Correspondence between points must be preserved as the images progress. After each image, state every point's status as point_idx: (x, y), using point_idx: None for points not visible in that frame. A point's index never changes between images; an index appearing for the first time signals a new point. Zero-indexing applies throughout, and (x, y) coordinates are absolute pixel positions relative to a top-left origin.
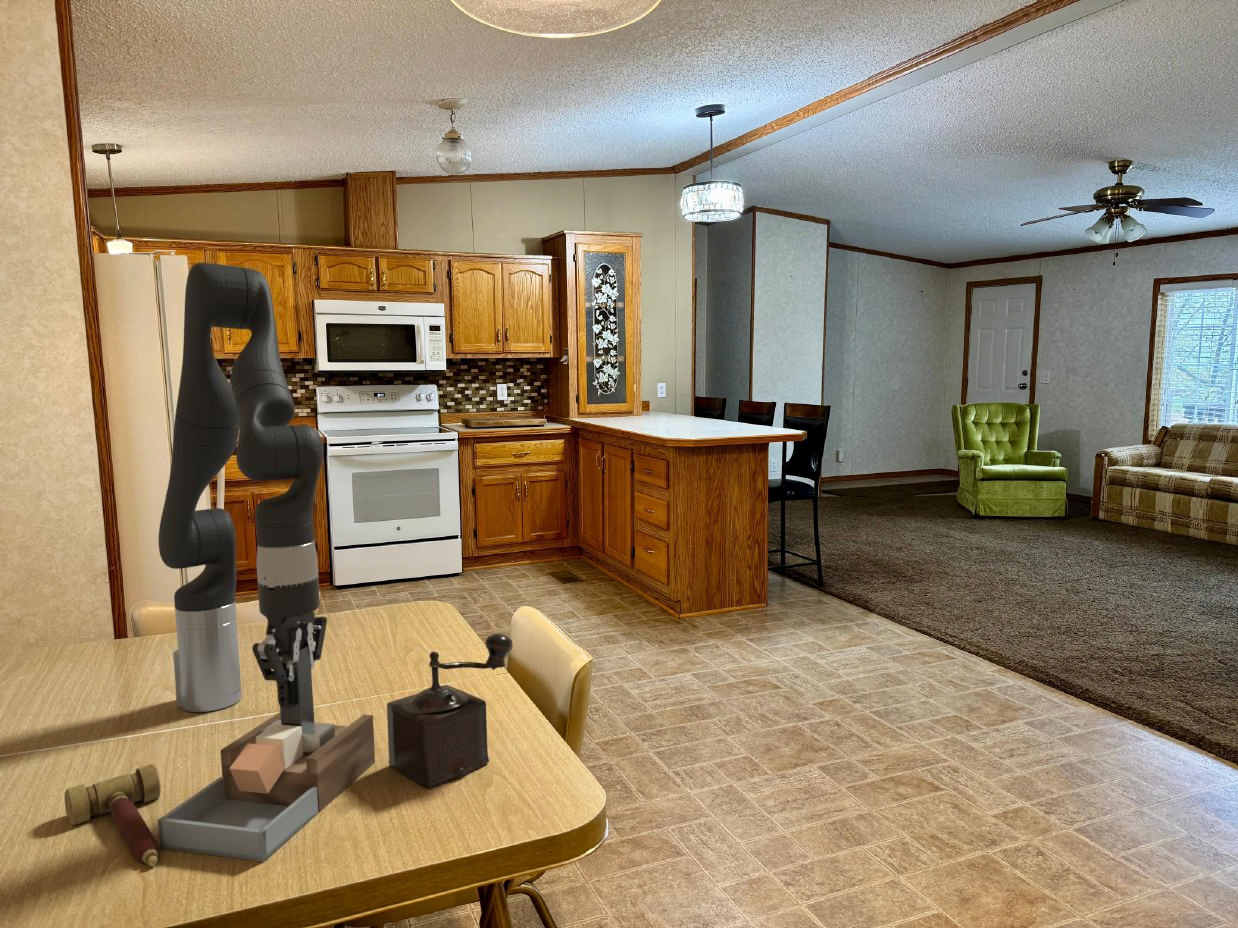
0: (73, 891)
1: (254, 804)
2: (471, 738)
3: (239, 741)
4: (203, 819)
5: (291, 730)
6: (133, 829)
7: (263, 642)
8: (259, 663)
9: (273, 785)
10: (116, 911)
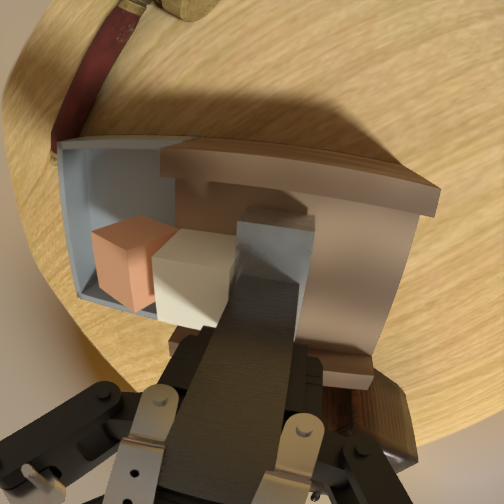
0: (23, 112)
1: None
2: None
3: (211, 165)
4: (137, 151)
5: (202, 321)
6: (64, 102)
7: (7, 495)
8: (34, 425)
9: None
10: (17, 181)
